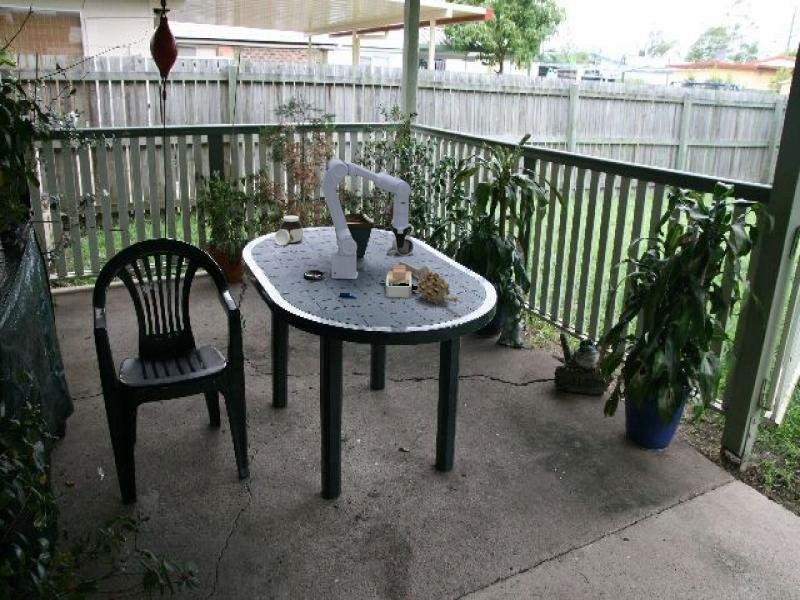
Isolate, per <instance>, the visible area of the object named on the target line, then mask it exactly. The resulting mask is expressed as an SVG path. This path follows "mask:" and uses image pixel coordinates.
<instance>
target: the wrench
mask: <svg viewBox="0 0 800 600" xmlns="http://www.w3.org/2000/svg"><path fill="white" fill-rule="evenodd" d="M398 265H405V271H411V275H414V276H416V277H418V279H420V278H421V276H422V275H424V273H427V272H432V273H433V274H434V273H435V272H434V270H433V269H434V268H432V266H431V265H424V266H423V267H418V266H416V265H414V264H411V263H408V262H406V261H399V262H398Z"/></svg>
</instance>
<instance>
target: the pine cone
mask: <svg viewBox="0 0 800 600" xmlns="http://www.w3.org/2000/svg"><path fill="white" fill-rule="evenodd" d="M433 273H434V274H433ZM433 273H432V272H427V273H424V275H422V276H421V278H419V279H418V281H417V282H418V283H417V289H416V291H417V292H418V293H419V294H421V297H422V298H423V299H425V300H426V299H427V301H428V302H430V303H432V302H434V304H435V305H439V304H440V303H441V302H442V303H443V302H444V301H448V302H453V303H457V301H458V296H455V297H451V296H449V295H450V290H449V288H450V285H449V284H448V283H447V282H446V281H445V279H444V278H443V276H441V277H440V275H439V273H437V272H433Z"/></svg>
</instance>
